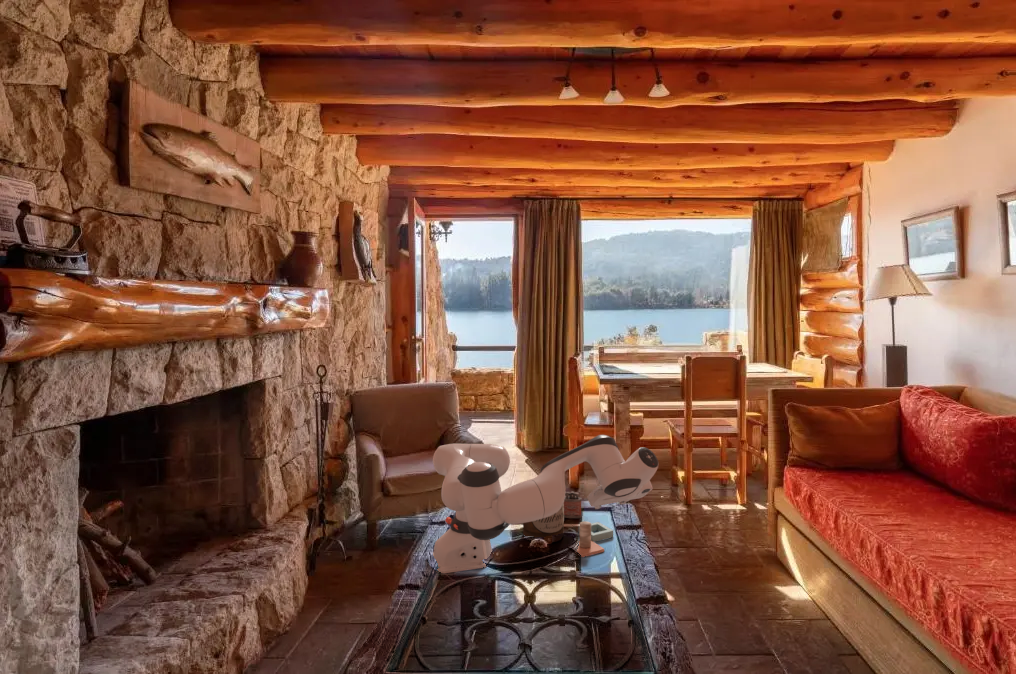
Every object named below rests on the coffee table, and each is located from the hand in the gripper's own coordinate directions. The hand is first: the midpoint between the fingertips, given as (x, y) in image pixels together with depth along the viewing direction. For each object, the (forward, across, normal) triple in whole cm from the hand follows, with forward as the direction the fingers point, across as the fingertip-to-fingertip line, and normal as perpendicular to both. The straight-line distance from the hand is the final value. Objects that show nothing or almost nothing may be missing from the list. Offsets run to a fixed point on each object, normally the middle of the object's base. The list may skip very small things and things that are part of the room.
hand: (608, 504), depth 198 cm
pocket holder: (+30, +9, +2) cm, 31 cm away
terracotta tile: (+24, 0, -5) cm, 24 cm away
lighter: (+43, +10, +15) cm, 47 cm away
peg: (+24, 0, -4) cm, 24 cm away
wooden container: (+35, -9, +7) cm, 37 cm away
